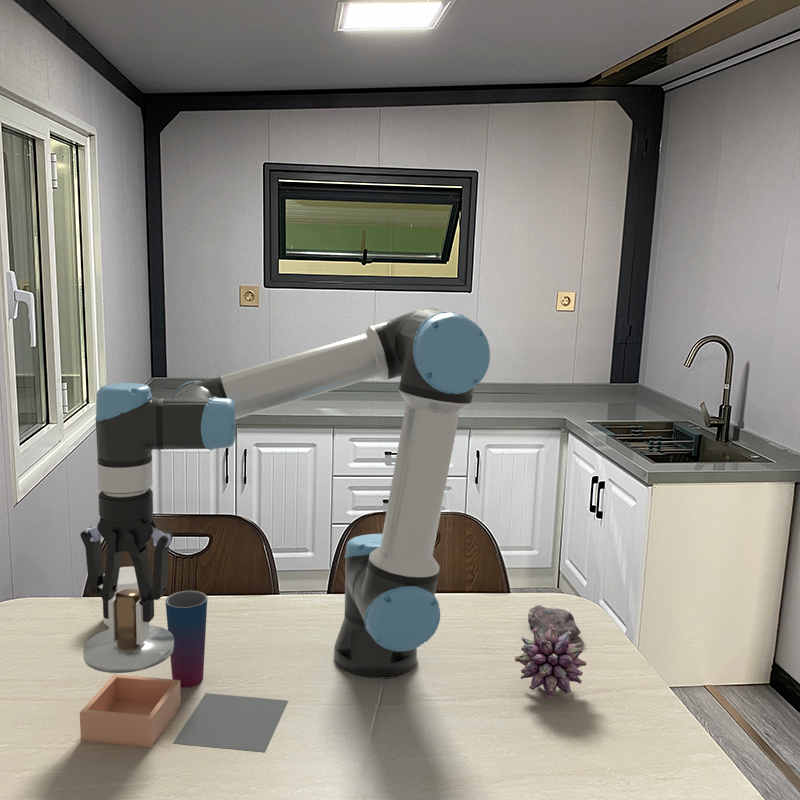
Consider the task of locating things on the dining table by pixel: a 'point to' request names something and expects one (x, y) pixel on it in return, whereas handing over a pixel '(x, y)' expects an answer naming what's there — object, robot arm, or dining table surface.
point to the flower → (551, 661)
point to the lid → (127, 641)
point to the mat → (232, 722)
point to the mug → (125, 583)
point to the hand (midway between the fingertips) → (129, 638)
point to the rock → (553, 621)
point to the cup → (187, 635)
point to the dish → (130, 711)
